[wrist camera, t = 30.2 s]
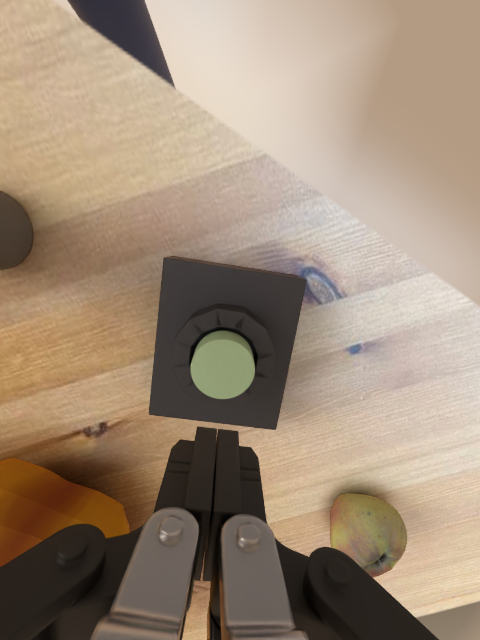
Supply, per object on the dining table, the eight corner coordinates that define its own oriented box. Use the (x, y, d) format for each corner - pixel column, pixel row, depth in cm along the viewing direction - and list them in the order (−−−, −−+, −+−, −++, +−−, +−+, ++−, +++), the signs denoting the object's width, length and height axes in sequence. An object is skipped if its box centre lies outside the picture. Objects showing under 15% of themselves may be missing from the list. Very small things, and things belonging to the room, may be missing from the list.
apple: (301, 485, 29) (319, 544, 24) (385, 472, 29) (423, 528, 24) (308, 536, 31) (325, 602, 25) (388, 524, 31) (424, 588, 25)
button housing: (171, 255, 24) (156, 258, 19) (298, 275, 25) (314, 283, 20) (157, 396, 27) (141, 430, 22) (271, 410, 27) (280, 446, 23)
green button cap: (197, 326, 21) (194, 335, 19) (257, 334, 21) (260, 344, 19) (190, 381, 22) (186, 395, 20) (247, 388, 22) (249, 403, 20)
